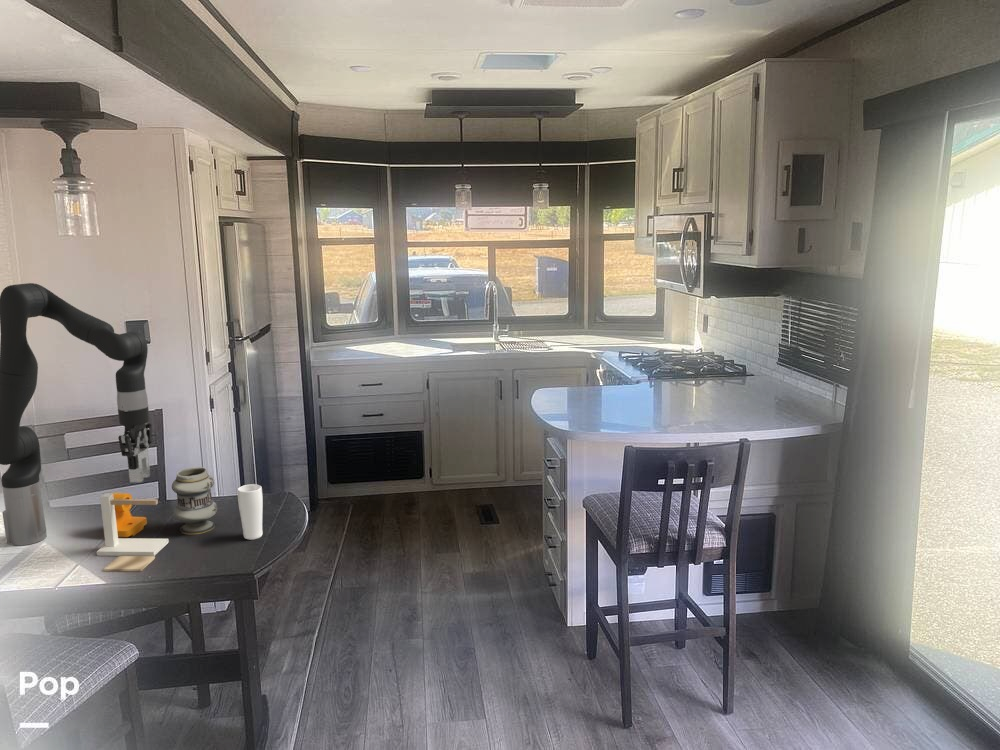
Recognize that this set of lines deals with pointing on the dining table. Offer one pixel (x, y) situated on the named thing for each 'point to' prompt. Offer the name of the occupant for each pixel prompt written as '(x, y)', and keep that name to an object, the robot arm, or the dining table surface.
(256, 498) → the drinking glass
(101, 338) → the robot arm
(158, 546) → the stand
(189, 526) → the apothecary jar
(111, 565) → the cork mat
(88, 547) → the dining table surface
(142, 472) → the c link
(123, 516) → the bracket
